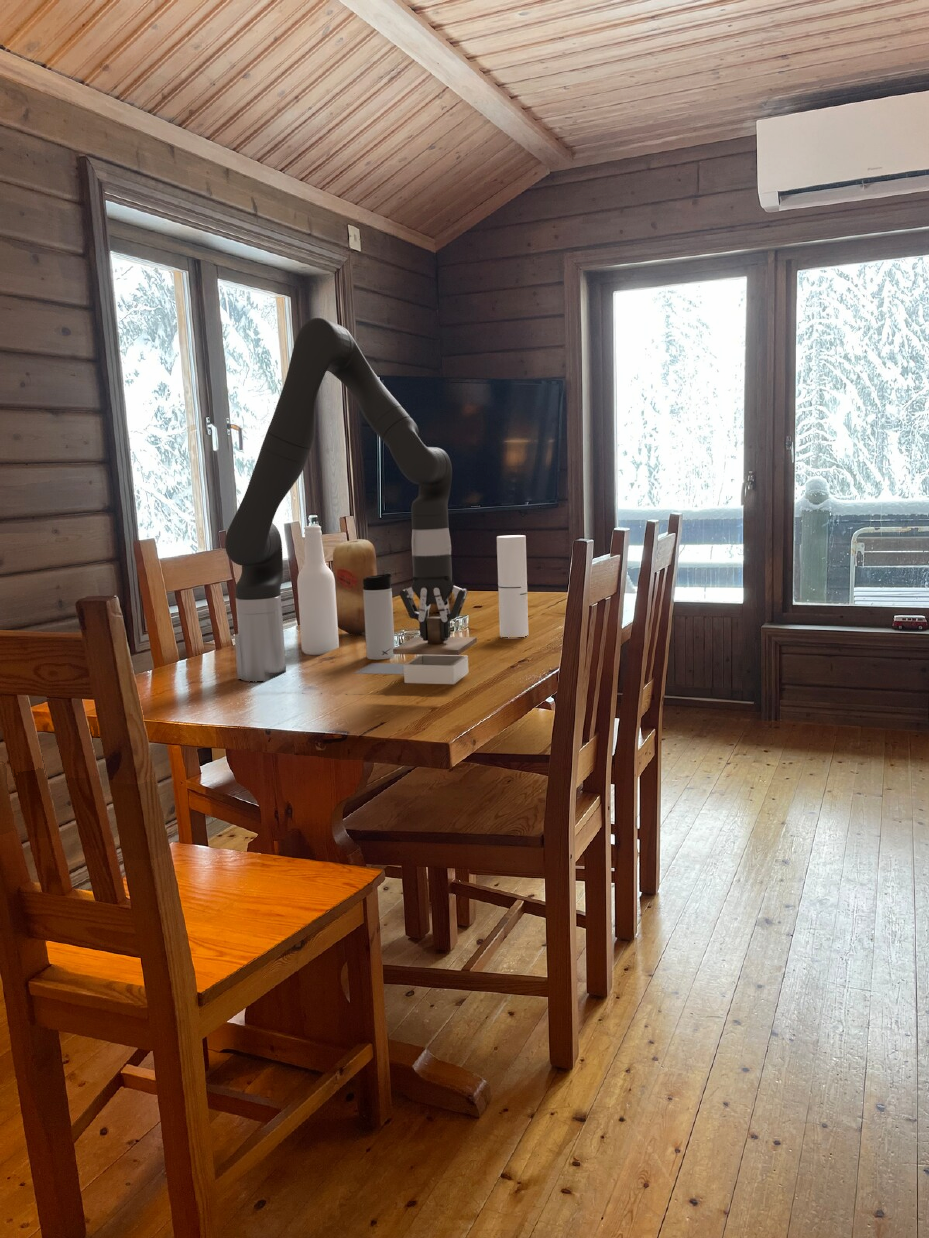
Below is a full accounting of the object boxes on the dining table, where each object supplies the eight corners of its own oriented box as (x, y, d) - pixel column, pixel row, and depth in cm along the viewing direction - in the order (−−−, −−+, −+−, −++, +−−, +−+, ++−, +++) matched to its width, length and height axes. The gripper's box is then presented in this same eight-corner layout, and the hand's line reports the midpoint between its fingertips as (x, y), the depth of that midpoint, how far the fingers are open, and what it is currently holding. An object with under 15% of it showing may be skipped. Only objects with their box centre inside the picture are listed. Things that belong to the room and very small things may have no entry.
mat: (354, 680, 190) (354, 673, 189) (372, 669, 199) (372, 662, 199) (414, 681, 186) (414, 674, 186) (430, 671, 195) (429, 664, 195)
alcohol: (295, 652, 222) (286, 527, 217) (326, 646, 228) (318, 524, 223) (314, 656, 216) (306, 527, 211) (346, 651, 221) (338, 525, 217)
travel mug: (392, 666, 202) (387, 574, 199) (363, 665, 203) (358, 575, 200) (400, 660, 208) (395, 571, 205) (372, 660, 209) (367, 572, 206)
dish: (405, 690, 179) (403, 664, 178) (421, 678, 189) (420, 654, 188) (454, 691, 176) (453, 665, 176) (468, 679, 186) (467, 655, 185)
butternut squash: (323, 639, 239) (317, 542, 235) (349, 630, 251) (343, 537, 247) (370, 640, 234) (365, 541, 230) (395, 631, 246) (390, 537, 242)
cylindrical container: (496, 634, 235) (492, 536, 231) (522, 632, 237) (519, 534, 233) (505, 639, 228) (502, 538, 224) (532, 636, 230) (529, 536, 226)
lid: (393, 654, 177) (391, 623, 176) (415, 641, 189) (414, 612, 188) (458, 655, 173) (457, 623, 172) (476, 642, 186) (475, 612, 185)
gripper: (390, 554, 177) (395, 643, 179) (461, 553, 173) (465, 644, 176) (403, 551, 184) (408, 636, 187) (471, 549, 180) (475, 637, 183)
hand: (435, 639), depth 181 cm, fingers closed on lid, 3 cm apart
